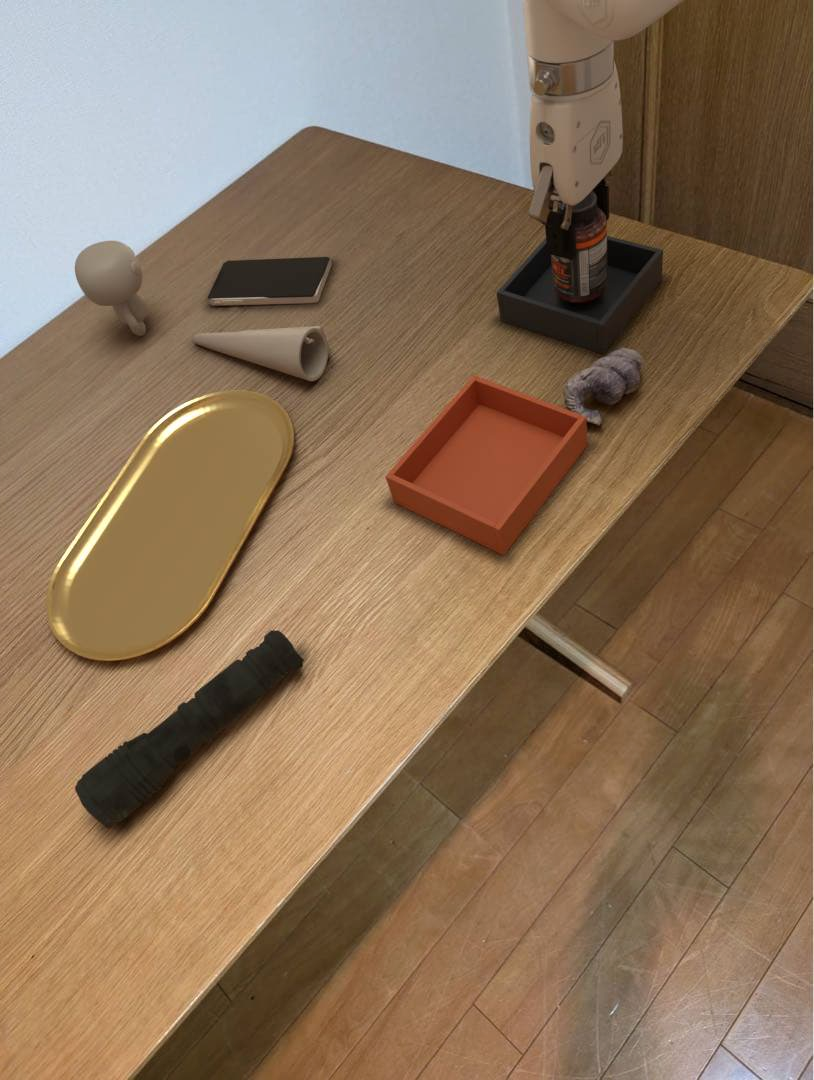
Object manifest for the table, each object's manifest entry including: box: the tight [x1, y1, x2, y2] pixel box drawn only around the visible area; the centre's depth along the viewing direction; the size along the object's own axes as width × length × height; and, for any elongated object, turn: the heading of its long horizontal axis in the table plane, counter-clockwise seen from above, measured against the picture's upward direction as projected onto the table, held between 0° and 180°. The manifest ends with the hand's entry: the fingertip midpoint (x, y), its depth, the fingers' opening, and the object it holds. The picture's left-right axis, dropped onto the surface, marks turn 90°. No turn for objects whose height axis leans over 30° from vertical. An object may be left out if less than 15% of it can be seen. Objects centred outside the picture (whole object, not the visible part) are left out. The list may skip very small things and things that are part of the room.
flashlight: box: [74, 629, 305, 829], centre depth 72 cm, size 5×21×5 cm, turn 130°
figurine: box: [74, 240, 148, 337], centre depth 106 cm, size 8×8×12 cm
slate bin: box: [496, 235, 664, 355], centre depth 95 cm, size 13×13×4 cm
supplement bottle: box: [551, 191, 608, 303], centre depth 91 cm, size 6×6×11 cm
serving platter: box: [45, 389, 295, 662], centre depth 89 cm, size 19×35×2 cm, turn 159°
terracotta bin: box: [385, 374, 589, 556], centre depth 83 cm, size 13×15×4 cm
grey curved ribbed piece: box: [562, 346, 645, 427], centre depth 86 cm, size 5×5×10 cm
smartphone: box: [207, 256, 332, 307], centre depth 110 cm, size 8×1×15 cm
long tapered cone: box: [191, 325, 331, 382], centre depth 100 cm, size 6×6×19 cm
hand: (578, 235), depth 90 cm, fingers closed on supplement bottle, 5 cm apart
